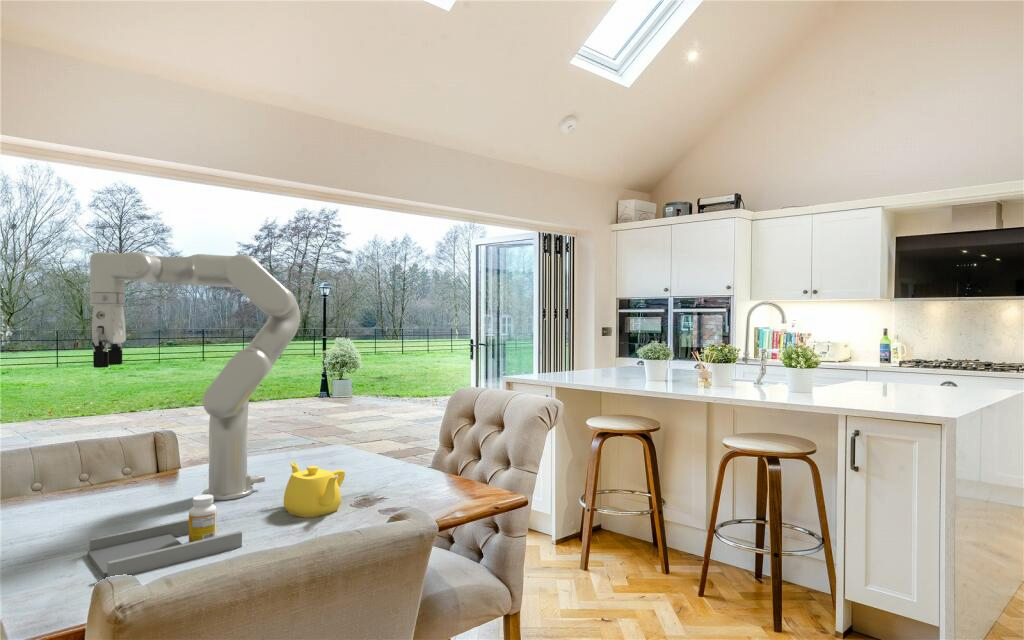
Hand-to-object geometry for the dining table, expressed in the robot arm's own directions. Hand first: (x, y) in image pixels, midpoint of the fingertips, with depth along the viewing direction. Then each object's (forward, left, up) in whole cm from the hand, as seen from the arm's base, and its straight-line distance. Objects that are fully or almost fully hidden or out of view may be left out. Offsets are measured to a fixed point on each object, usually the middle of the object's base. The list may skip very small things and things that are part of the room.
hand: (108, 365), depth 160 cm
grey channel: (-1, +47, -36) cm, 59 cm away
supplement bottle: (-8, +47, -36) cm, 60 cm away
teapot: (-37, +42, -36) cm, 66 cm away
